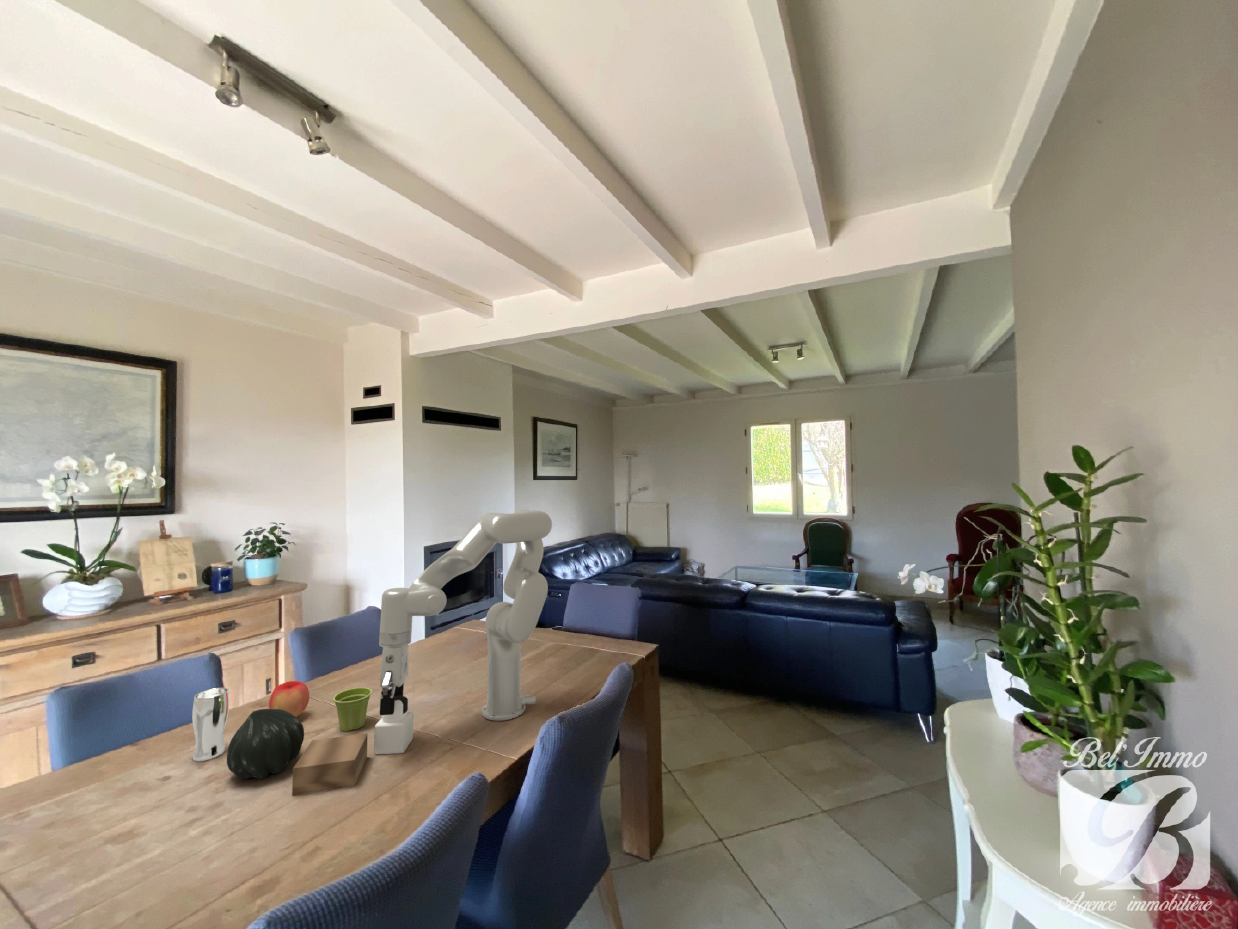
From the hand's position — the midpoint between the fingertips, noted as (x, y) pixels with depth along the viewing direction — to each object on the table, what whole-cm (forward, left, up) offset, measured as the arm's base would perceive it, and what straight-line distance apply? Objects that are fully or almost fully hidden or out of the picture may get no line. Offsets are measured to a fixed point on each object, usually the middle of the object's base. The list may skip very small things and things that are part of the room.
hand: (391, 706), depth 122 cm
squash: (+26, +4, -11) cm, 29 cm away
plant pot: (+13, -14, -11) cm, 22 cm away
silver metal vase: (+43, -6, -11) cm, 45 cm away
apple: (+32, -22, -11) cm, 41 cm away
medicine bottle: (-1, 0, -11) cm, 11 cm away
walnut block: (+10, +10, -11) cm, 18 cm away
